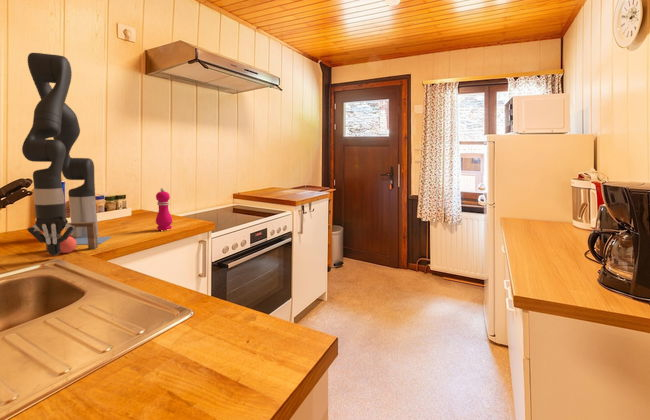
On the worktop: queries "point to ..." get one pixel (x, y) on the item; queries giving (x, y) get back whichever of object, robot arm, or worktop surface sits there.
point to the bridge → (90, 233)
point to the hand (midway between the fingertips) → (54, 254)
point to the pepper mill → (163, 211)
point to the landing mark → (85, 240)
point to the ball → (68, 245)
